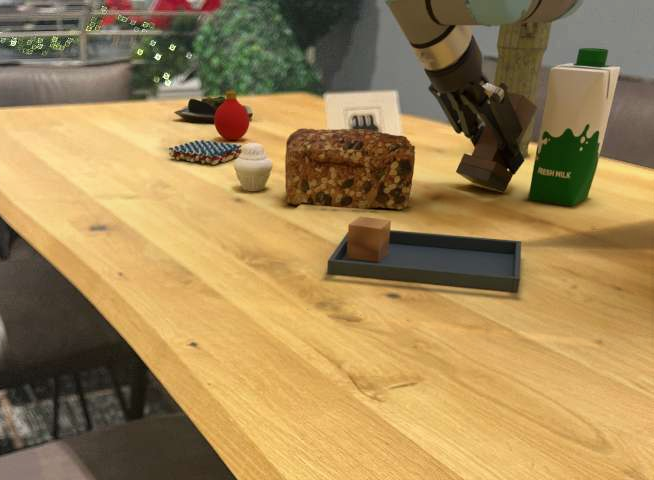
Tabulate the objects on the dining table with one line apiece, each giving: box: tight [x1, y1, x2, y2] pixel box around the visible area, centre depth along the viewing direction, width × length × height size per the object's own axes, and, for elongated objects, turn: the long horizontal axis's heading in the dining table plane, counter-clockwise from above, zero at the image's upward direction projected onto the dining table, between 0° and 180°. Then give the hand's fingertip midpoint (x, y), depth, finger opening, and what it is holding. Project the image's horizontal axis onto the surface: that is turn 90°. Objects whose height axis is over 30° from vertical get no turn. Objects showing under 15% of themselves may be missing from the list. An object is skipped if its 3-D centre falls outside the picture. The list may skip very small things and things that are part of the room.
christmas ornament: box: [213, 84, 250, 141], centre depth 153 cm, size 7×7×10 cm
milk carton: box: [527, 47, 621, 207], centre depth 113 cm, size 9×9×20 cm
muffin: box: [233, 141, 273, 192], centre depth 120 cm, size 6×6×7 cm
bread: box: [284, 128, 416, 211], centre depth 113 cm, size 19×11×10 cm, turn 84°
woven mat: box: [168, 139, 243, 166], centre depth 140 cm, size 10×11×2 cm
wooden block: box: [347, 216, 392, 263], centre depth 92 cm, size 4×4×4 cm
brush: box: [455, 92, 538, 194], centre depth 120 cm, size 7×5×13 cm
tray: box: [326, 229, 522, 294], centre depth 91 cm, size 21×14×2 cm
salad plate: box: [173, 95, 254, 125], centre depth 177 cm, size 19×18×5 cm
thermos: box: [484, 22, 553, 159], centre depth 136 cm, size 9×12×35 cm
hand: (504, 163), depth 123 cm, fingers closed on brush, 4 cm apart
